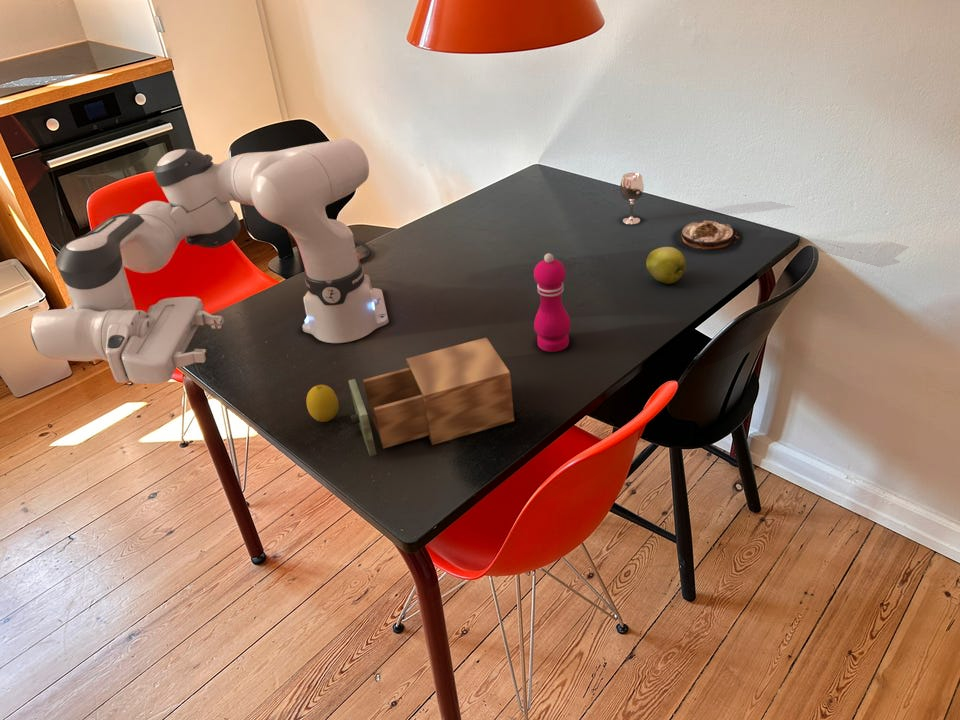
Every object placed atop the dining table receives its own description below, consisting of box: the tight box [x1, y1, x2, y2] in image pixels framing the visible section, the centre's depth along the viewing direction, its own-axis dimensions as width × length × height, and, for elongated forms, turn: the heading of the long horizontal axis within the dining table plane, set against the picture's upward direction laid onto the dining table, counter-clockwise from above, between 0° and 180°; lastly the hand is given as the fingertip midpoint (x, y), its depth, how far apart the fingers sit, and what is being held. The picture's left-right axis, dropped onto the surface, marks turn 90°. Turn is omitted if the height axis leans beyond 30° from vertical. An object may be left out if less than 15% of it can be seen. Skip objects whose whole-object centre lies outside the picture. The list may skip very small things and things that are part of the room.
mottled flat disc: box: [680, 219, 739, 251], centre depth 184 cm, size 15×15×4 cm
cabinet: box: [405, 337, 515, 446], centre depth 135 cm, size 15×12×11 cm
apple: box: [645, 246, 687, 285], centre depth 167 cm, size 8×9×8 cm
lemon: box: [305, 384, 339, 423], centre depth 138 cm, size 6×6×8 cm
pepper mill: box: [533, 252, 572, 353], centre depth 148 cm, size 7×7×20 cm
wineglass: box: [619, 172, 645, 225], centre depth 194 cm, size 6×6×12 cm
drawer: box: [347, 367, 430, 457], centre depth 132 cm, size 15×11×9 cm
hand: (214, 338), depth 128 cm, fingers open, 8 cm apart
